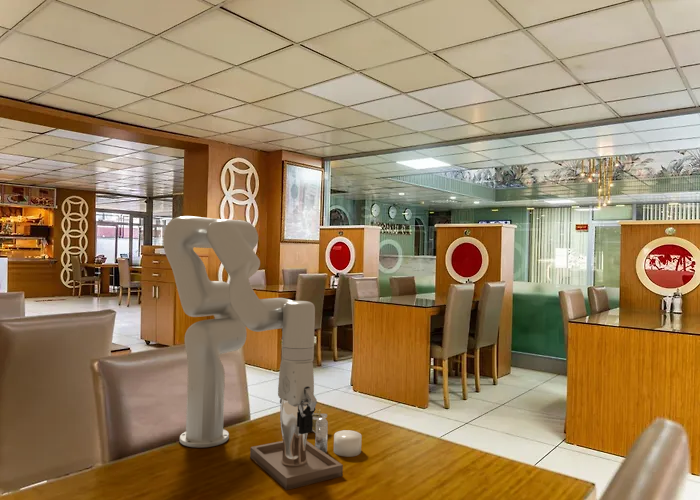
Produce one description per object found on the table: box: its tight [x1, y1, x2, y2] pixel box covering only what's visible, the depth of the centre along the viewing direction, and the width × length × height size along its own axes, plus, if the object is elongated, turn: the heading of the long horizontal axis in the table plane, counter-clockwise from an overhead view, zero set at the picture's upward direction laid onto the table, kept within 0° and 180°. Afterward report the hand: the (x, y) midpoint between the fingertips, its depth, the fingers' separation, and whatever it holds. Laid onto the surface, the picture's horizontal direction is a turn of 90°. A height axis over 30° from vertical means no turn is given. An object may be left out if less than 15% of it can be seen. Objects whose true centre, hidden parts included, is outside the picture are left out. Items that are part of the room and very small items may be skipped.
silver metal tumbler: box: [280, 398, 309, 467], centre depth 121 cm, size 7×7×15 cm
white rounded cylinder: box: [333, 429, 363, 458], centre depth 131 cm, size 7×7×4 cm
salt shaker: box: [314, 418, 329, 454], centre depth 131 cm, size 3×3×8 cm
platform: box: [312, 408, 328, 434], centre depth 145 cm, size 12×18×7 cm, turn 86°
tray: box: [249, 440, 344, 491], centre depth 121 cm, size 20×14×2 cm
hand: (295, 426), depth 121 cm, fingers open, 9 cm apart
